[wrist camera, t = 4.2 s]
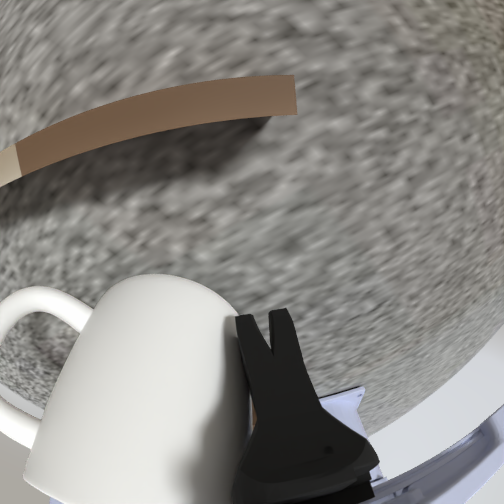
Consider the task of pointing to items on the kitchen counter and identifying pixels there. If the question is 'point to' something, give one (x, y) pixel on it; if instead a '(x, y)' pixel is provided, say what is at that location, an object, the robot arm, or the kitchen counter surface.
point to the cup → (137, 396)
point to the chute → (151, 120)
